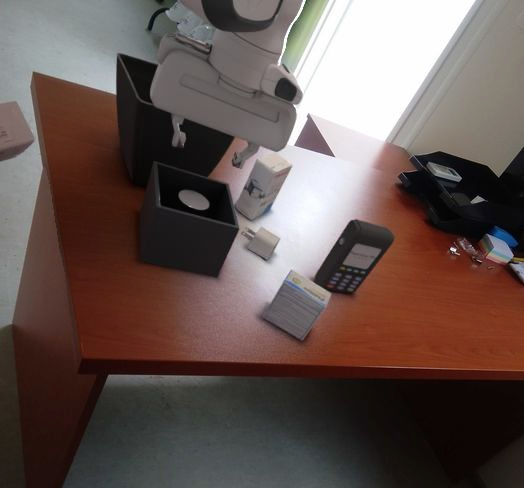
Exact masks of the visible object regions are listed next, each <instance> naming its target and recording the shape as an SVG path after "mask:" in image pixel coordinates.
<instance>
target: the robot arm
mask: <svg viewBox="0 0 524 488" xmlns="http://www.w3.org/2000/svg"><path fill="white" fill-rule="evenodd" d="M176 1H177V2H178V3H180V4H181V5H182V6H183V7H185V9H187V10H189V11H190V12H192V13H193V14H194V15H196V16H197V17H198V18H199V19H200V20H202V21H203V22H205V24H207V25H209V26H210V27H212V28H214V29H215V30H214V34H213V37H212V40H211V43H208V42H206V41H204V40H201V39H199V38H196V37H192V36H190V35H188V34H187V33H186V32H184V31H181V30H176V31H175V32H173V31H171V32H168V33H165V34H164V35H163V36H162V37H161V39H160V41H159V45H158V49H157V61H158V62H159V63H158V67H157V70H156V73H155V75H154V78H153V81H152V85H151V89H150V97H151V100H152V102H153V104H154V106H155V107H156V108H159V109H161V110H164V111H167V112H169V113H172V115H171V116H172V123H173V127H174V131H175V133H174V136H173V140H172V145H173V146H175V147H178V148H181V149H183V147H184V143H185V140H186V137H185V133H183V132H181V131H180V129H179V125H178V123H179V124H182V123H183V120H184V118H186V119H188V120H191V121H194V122H196V123H199V124H202V125H204V126H207V127H210V128H212V129H215V130H218V131H221V132H223V133H226V134H229V135H231V136H234V137H235V138H237V139H240V140H243V141H245V142H246V144H247V146H246V147H245V148H243V150H241V151H240V152H239V151H234V154H233V157H232V159H231V166H232V167H234V168H236V169H240V170H242V169H243V168H244V166H245V163H246V161H248V160H249V159H250V158H251V157H254V156H255V155H256V154H257V153H258V152H259V149H260V147H262V148H264V149H267V150H269V151H272V152H273V153H279V152H281V151H282V150H284V149H285V148H286V147H287V144H288V143H289V140H290V139H291V137H292V136H291V135H292V133H293V130H294V128H295V126H296V122H297V118H298V109H297V107H296V106H298V105H299V104H300V103H301V101H302V100H303V97H304V90H303V87H302V86H301V83H300V82H299V80H298V78H297V77H296V76H295V74H294V73H293V71H291V70H290V69H289V68H288V67H287V65H285V64H284V63H283V62H282V61H281V59H282V57H283V54H284V52H285V49H286V44H287V38H288V35H289V33H290V30H291V28H292V27H293V24H294V23H295V22H296V21H297V19H298V17H299V16H300V14H301V12H302V10H303V7H304V5H305V2H306V0H176Z"/></svg>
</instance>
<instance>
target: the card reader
mask: <svg viewBox="0 0 524 488" xmlns="http://www.w3.org/2000/svg"><path fill="white" fill-rule="evenodd" d="M394 241H395V235H394V233H393V232H392V230H391V229H389V228H388V227H386V226H384V225H383V226H382V225H379V224H376V223H372V222H368V221H364V220H361V219H358V218H355V219H350V221H348V223H347V224H346V226H345V227H344V229H343V230H342V232H341V233H340V235H339V236H338V238H337V240H336V241H335V243H334V244H333V246H332V248H331V249H330V251H329V252H328V254H327V255H326V257H325V258H324V260H323V262H322V263H321V265H320V267H319V269H318V270H317V272H316V273H315V275H314V283H315V284H317V285H319V286H320V287H322V288H323V289H325V290H327V291H331V292H337V293H343V294H348V295H350V294H351V295H352V294H354V293H356V292H357V290H358V289H359V288H360V286H361V285H362V284H363V282H365V280H366V279H367V278H368V276H369V275H370V274H371V273H372V271H373V269H374V268H376V266H377V264H378V263H379V262H380V260H382V258H383V256H384V255H385V254H386V253H387V251H388V250H389V249H390V247H391V246H392V245H393V243H394Z"/></svg>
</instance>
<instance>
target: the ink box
mask: <svg viewBox="0 0 524 488" xmlns="http://www.w3.org/2000/svg"><path fill="white" fill-rule="evenodd" d="M292 168H293V164H292V163H291V162H290V161H289V160H287V159H285V158H284V157H283V156H282V155H280V154H279V153H278V152H273V153H271V154H267V155H265V156H262V157H258V158H256V160H255V163H254V164H253V167H252V169H251V171H250V173H249V175H248V177H247V180H246V181H245V184H244V186H243V188H242V190H241V192H240V194H239V197H238V199H237V200H236V203H235V204H234V208H235V210H237V211H238V212H239V213H241V214H242V215H243V216H244V217H246V218H247V219H248V220H249V221H250V220H251V221H252V220H254V219H256V218H258V217H260V216H262V215H265V214H266V213H267V212H270V211H271V209H272V207H273V205H274V203H275V201H276V199H277V197H278V196H279V193H280V191H281V189H282V187H283V185H284V184H285V182H286V180H287V178H288V176H289V174H290V172H291V170H292Z"/></svg>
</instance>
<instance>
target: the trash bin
mask: <svg viewBox="0 0 524 488" xmlns="http://www.w3.org/2000/svg"><path fill="white" fill-rule="evenodd" d="M182 190H191V191H195V192H197V193H199V194H201V195H203V196H204V197H205V198H206V199H207V200H208V202H209V208H208V211H207V213H206V216H205V217H201V216H198V215H194V214H190V213H186V212H183V211H179V210H175V209H174V206H175V203H176V200H177V197H178V194H179V192H180V191H182ZM237 216H238V215H237V212H236V208H235V204H234V200H233V195H232V191H231V188H230V184H229V182H228V183H227V182H225V181H221V180H218V179H214V178H212V177H205V176H202V175H198V174H195V173H192V172H189V171H185V170H182V169H179V168H176V167H172V166H169V165H166V164H163V163H159V162H156V161H154V162H153V166H152V169H151V173H150V177H149V180H148V184H147V186H146V189H145V192H144V195H143V199H142V202H141V206H140V212H139V259H140V260H139V261H140V262H142V263H146V264H151V265H155V266H160V267H166V268H169V269H175V270H180V271H184V272H189V273H193V274H197V275H203V276H208V277H213V278H218V277H219V275H220V274H221V270H222V268H223V267H224V264H225V262H226V260H227V258H228V256H229V253H230V251H231V249H232V247H233V244H234V242H235V240H236V238H237V236H238V235H239V234H238V233H239V231H240V230H241V228H240V224H239V220H238V217H237Z"/></svg>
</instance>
